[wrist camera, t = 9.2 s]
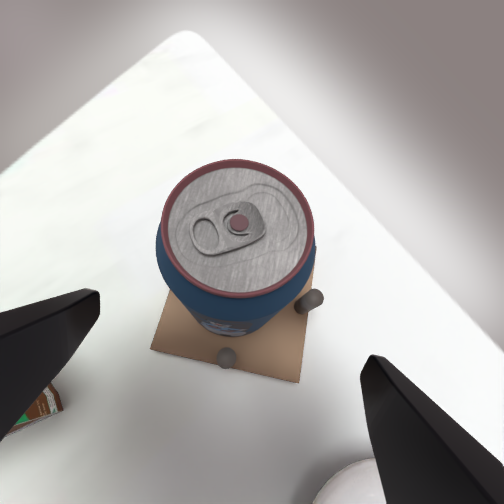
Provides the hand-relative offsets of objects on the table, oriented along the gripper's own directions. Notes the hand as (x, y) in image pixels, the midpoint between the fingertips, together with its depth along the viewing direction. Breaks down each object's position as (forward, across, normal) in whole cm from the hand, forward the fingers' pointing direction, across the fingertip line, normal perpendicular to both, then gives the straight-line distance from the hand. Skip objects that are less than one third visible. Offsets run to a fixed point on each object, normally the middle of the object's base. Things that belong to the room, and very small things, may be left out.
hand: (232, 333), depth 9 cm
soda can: (+11, +1, +6) cm, 13 cm away
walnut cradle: (+12, 0, +6) cm, 14 cm away
